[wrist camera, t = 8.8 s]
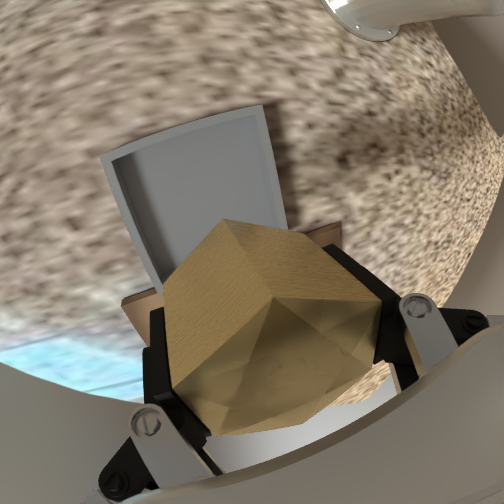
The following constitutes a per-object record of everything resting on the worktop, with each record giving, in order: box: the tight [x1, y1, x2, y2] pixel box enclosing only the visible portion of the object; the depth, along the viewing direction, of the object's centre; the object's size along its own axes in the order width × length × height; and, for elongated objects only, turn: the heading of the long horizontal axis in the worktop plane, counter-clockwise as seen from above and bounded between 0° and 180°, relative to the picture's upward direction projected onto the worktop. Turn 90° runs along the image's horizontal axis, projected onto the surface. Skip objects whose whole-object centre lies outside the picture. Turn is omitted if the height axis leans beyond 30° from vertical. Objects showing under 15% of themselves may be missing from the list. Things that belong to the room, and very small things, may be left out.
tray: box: [100, 104, 288, 294], centre depth 24 cm, size 14×14×3 cm
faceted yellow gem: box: [163, 218, 382, 436], centre depth 9 cm, size 7×6×5 cm
